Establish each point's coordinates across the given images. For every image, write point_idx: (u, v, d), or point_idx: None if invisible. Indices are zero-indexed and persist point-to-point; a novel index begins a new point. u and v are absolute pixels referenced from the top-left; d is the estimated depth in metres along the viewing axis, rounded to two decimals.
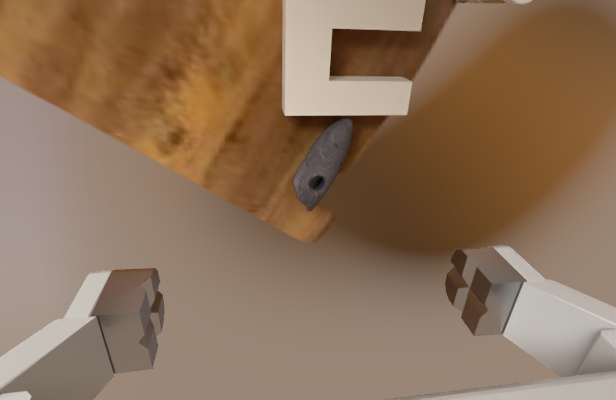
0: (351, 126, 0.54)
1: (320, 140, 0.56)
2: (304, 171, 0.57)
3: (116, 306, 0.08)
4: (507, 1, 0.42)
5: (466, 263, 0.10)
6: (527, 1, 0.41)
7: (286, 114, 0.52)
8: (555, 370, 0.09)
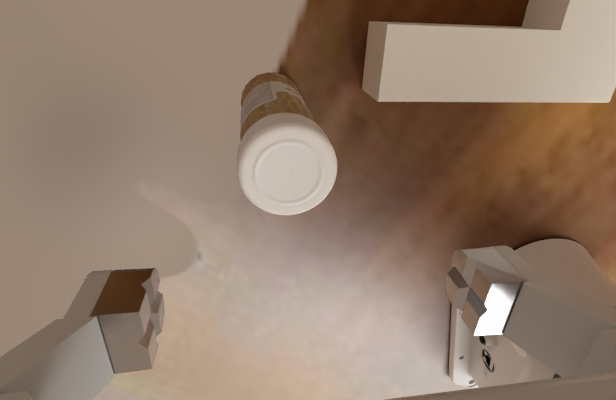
0: None
1: None
2: None
3: (116, 306, 0.08)
4: (310, 121, 0.17)
5: (466, 263, 0.10)
6: (276, 131, 0.16)
7: None
8: (555, 370, 0.09)
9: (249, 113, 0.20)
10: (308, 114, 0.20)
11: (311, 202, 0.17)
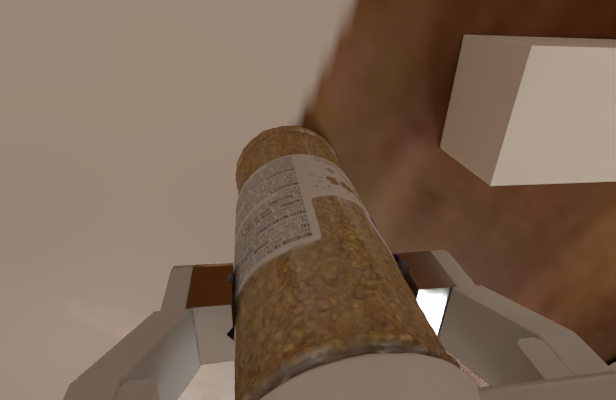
0: None
1: None
2: None
3: (207, 299, 0.08)
4: (461, 395, 0.05)
5: (400, 268, 0.10)
6: None
7: None
8: (485, 379, 0.09)
9: (254, 269, 0.08)
10: (397, 272, 0.08)
11: None
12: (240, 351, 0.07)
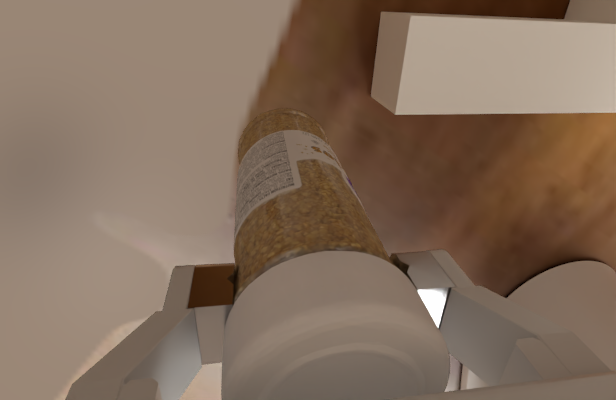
0: None
1: None
2: None
3: (209, 299, 0.08)
4: (388, 275, 0.07)
5: (399, 268, 0.10)
6: (316, 331, 0.06)
7: None
8: (483, 379, 0.09)
9: (249, 213, 0.11)
10: (362, 213, 0.10)
11: None
12: (237, 268, 0.09)
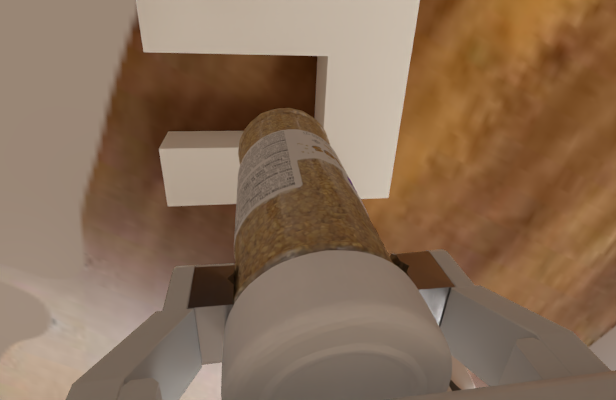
0: None
1: None
2: None
3: (209, 299, 0.08)
4: (390, 275, 0.07)
5: None
6: (317, 331, 0.06)
7: None
8: (483, 379, 0.09)
9: (250, 212, 0.10)
10: (363, 213, 0.10)
11: None
12: (238, 267, 0.09)
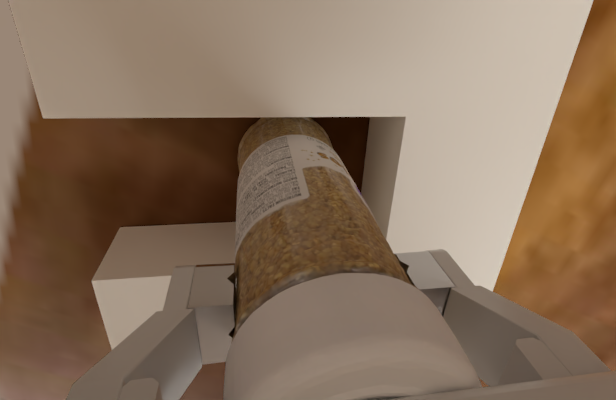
0: None
1: None
2: None
3: (210, 299, 0.08)
4: (413, 302, 0.06)
5: None
6: (335, 373, 0.05)
7: None
8: (483, 379, 0.09)
9: (252, 226, 0.10)
10: (375, 226, 0.10)
11: None
12: (239, 288, 0.08)
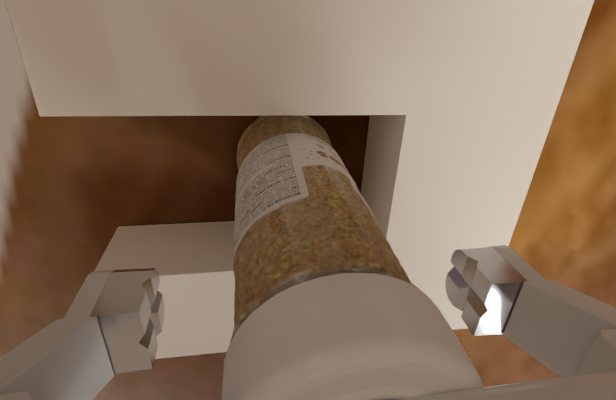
0: None
1: None
2: None
3: (116, 306, 0.08)
4: (415, 302, 0.06)
5: (466, 263, 0.10)
6: (335, 375, 0.05)
7: None
8: (555, 370, 0.09)
9: (250, 225, 0.10)
10: (375, 226, 0.09)
11: None
12: (238, 288, 0.08)
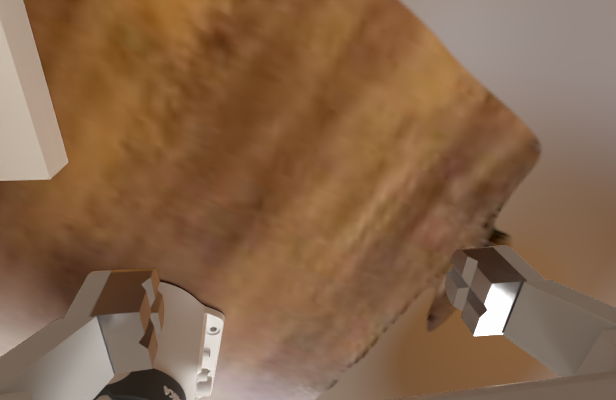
0: None
1: None
2: None
3: (116, 306, 0.08)
4: None
5: (466, 263, 0.10)
6: None
7: None
8: (555, 370, 0.09)
9: None
10: None
11: None
12: None
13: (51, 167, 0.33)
